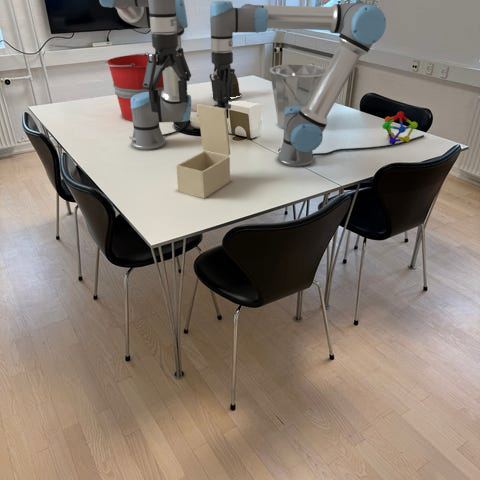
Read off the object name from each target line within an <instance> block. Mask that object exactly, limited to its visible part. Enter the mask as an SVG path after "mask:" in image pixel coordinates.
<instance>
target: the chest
mask: <svg viewBox="0 0 480 480" xmlns="http://www.w3.org/2000/svg"><path fill="white" fill-rule="evenodd" d="M230 160H231V157H230V156H227V155H223V154H219V153H215V152H210V151H206V150H203V151H201V152H199V153H198V154H196V155H194V156H191V157H189V158H188V159H186V160H184V161H182V162H180V163H178V164H176V165H175V166H176V180H177V191H178V192H181V193H184V194H188V195H190V196H194V197H197V198H201V199H206V198H208V197H209V196H210V195H212V194H213V193H215V192H216V191H218V190H220V189H221V188H223V187H224V186H226V185H227V184H229V183H230V182H231V161H230Z"/></svg>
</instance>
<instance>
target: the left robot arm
mask: <svg viewBox="0 0 480 480" xmlns="http://www.w3.org/2000/svg"><path fill="white" fill-rule="evenodd" d="M98 1H99V4H100V5H101V7H104V8H110V9H111V8H115V10H116V11H117V14H118V16H119V17H120V19H122V21H124V22H126V23H127V24H129V25H131V26H134V27H137V28H143V29H150V31H151V32H152V34H151V43H152V44H151V45H152V47H153V49H154V53H149V52H147V54H146V55H147V67H146V72H145V77H144V82H143V89H146V90H148V91H149V92H143V93H139V94H136V95H134V96H133V97H132V98H131V110H132V117H133V121H132V125H133V132H132V135H129V137H128V138H129V140H131V142H130V143H131V147H132V148H134V149H135V150H141V151H151V150H153V151H154V150H157V149H161V148H163V147H164V146H165V144H166V140H165V137H167V136H171V135H173V134H177V133H179V132H181V131H182V130H183V129H184V128H185V127H186V126H187V125H188V124H189V122H190V121H189V119H190V118H191V113H192V95H191V94H188V82H190V80H191V78H192V73H191V70H190V68H189V65H188V62H187V60H186V58H185V53H184V48H183V47H182V36H183V35H184V34H185V29H187V28H188V25H189V24H188V19H187V18H188V16H187V10H186V5H185V0H98ZM162 73H163V83H164V90H163V91H162V92H161V96H159V95H158V90H156V88H157V85H158V83H159V80H160V77H161V75H162ZM147 84H148V85H147ZM152 85H153V86H152ZM186 122H187V123H186ZM160 123H184V124H185V123H186V124H185V126H184V125H183V126H184V127H183V126H182V127H183V128H182V127H180V128H181V129H180V128H179V129H180V130H179V129H177V130H174V131H172V132H168V133H163V132H162V130H161V127H160Z"/></svg>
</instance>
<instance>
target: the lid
mask: <svg viewBox="0 0 480 480" xmlns="http://www.w3.org/2000/svg"><path fill="white" fill-rule="evenodd" d="M214 102H215V103H214V104H213V105H208V104H202V103H198V104H196V108H197V115H198V116H197V117H198V122H199V129H200V130H199V131H200V136H201V144H202V149H203V151H207V152H211V153H215V154H220V155H224V156H228V157H230V156H231V145H230V136H229V126H228V125H229V124H228V119H227V115H226V110H227V109H228V110H230V109H232V104H230V103H229V104H225V108H219V107H218V103H217V102H216V101H214Z"/></svg>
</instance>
